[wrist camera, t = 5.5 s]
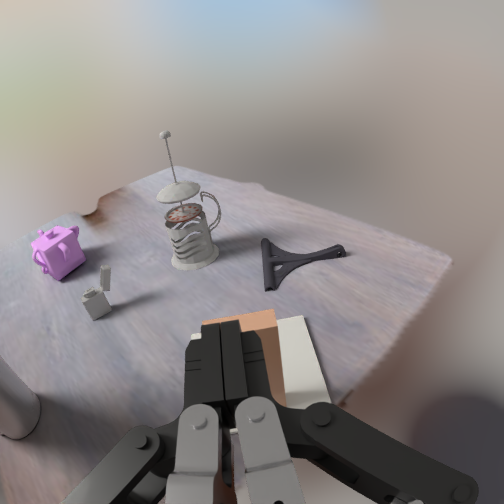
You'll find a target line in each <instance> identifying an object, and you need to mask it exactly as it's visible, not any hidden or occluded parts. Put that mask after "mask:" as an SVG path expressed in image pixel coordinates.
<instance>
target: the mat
mask: <svg viewBox="0 0 504 504" xmlns="http://www.w3.org/2000/svg"><path fill="white" fill-rule="evenodd" d="M276 321H277V325H278V333H279V342H280V350H281V359H282V368H283V378H284V387H285V396H286V406H287V407H288V408H295V409H306V408H307V407H308V406H310V405H311V404H313V403H317V402H329V403H331V400H330V397H329V394H328V391H327V387H326V384H325V381H324V378H323V375H322V372H321V369H320V366H319V363H318V360H317V357H316V354H315V351H314V348H313V345H312V342H311V339H310V336H309V333H308V330H307V327H306V324H305V321H304V318H303V315H300V316H296V317H290V318H285V319H280V320H276ZM200 338H201V333H197V334H191V340H193V339H200ZM236 433H238V430H237V426H236V428H234V429H230V434H236Z"/></svg>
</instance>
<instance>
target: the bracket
mask: <svg viewBox="0 0 504 504" xmlns="http://www.w3.org/2000/svg"><path fill="white" fill-rule="evenodd" d="M261 246H262V259H263V272H264V285H265V292H266V291H267V289H268V288H273V291H275V289H276V288H278V286H279V284H280V282H281V281H282V280H283V278H284V277H285V276H286V275H287V274H288V273H290V272H291V271H292V270H293V269H295V268H297V267H299V266H301V265H304V264H306V263H309V262H311V261H318V260H326V259H334V258H342V257H345V256H346V252H345V249H344V248H343V246H341V245H339V244H337V245H334V246H332V247H330V248H327V249H324V250H321V251H318V252H314V253H309V254H295V253H290V252H287V251H284V250H282V249H280V248H278V247H276V246H275V245H274V244H273V243H270V241H269V240H268V239H267V238H264V239H262V241H261ZM338 252H340V253H338ZM337 253H338V254H337ZM341 253H342V254H341ZM340 254H341V255H340ZM337 255H340V256H337ZM271 256H277V257H271ZM278 265H283V266H282V267H281V268H280V269H279V270H277V271H273V266H278Z"/></svg>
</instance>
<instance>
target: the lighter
mask: <svg viewBox="0 0 504 504" xmlns="http://www.w3.org/2000/svg"><path fill="white" fill-rule="evenodd" d="M110 274H111V268H110V267H109V265H101V274H100V287H99V288H98V289H96V290H95V289H94V287H91V288H90V289H88V290H86V291H85V293H84V295H83V297H81V301H82V303H83V305H84V306H85V308H86V310H87V312H88V313H89V315H90V317H91V318H92V320H93V321H94V320H96V319H98V318H99V317H101V316H103V315H105V314H107V313H108V312H110V311H112V309H111V307H110V305H109V303H108V301H107V299H106V297H105V295H104V293H103V291H110Z"/></svg>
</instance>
